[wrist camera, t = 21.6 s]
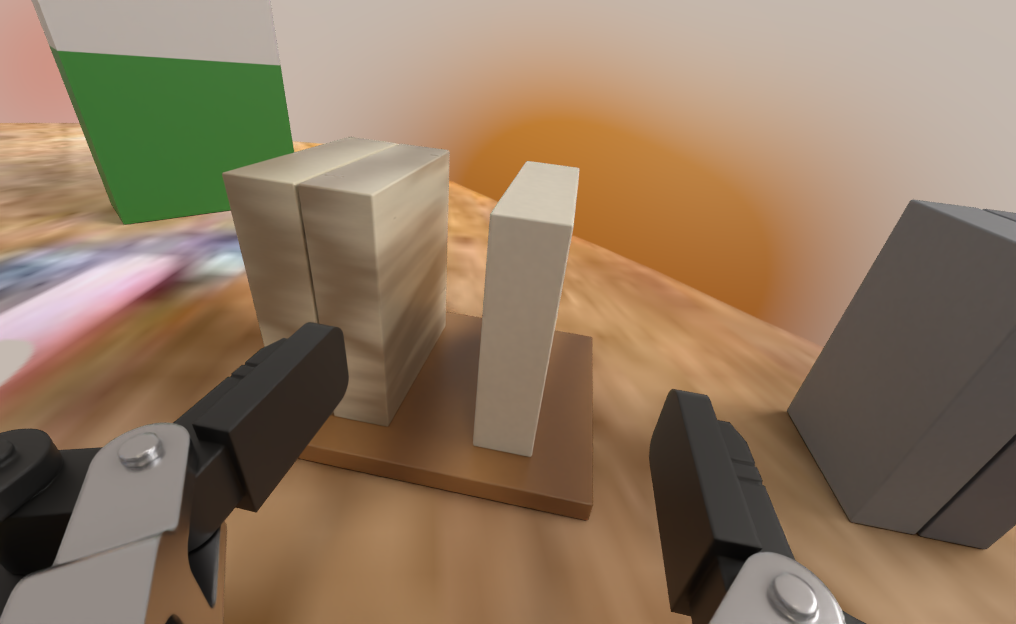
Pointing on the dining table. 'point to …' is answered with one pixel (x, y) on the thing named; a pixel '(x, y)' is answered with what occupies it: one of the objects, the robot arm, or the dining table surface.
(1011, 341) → the grey books
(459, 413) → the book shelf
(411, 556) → the dining table surface
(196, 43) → the hardback book
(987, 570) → the dining table surface
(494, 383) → the white book
